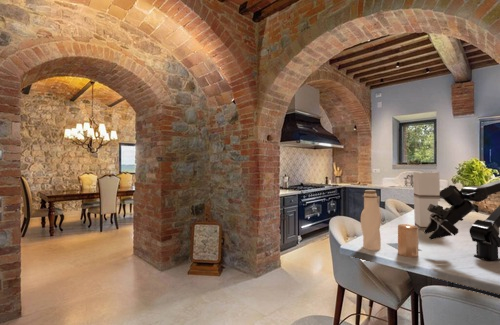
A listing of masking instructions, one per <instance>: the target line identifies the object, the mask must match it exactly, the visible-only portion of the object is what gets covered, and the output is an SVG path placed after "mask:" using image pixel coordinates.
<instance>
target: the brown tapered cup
mask: <svg viewBox="0 0 500 325" xmlns="http://www.w3.org/2000/svg"><path fill="white" fill-rule="evenodd" d="M397 243H398V249H397V253H398V255H400V256H403V257H407V258H418V257H419V251H418V249H419V229H418V227H417V226H415V224H408V223H401V224H398V225H397Z"/></svg>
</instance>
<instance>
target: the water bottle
mask: <svg viewBox="0 0 500 325" xmlns="http://www.w3.org/2000/svg"><path fill="white" fill-rule="evenodd" d="M380 196H381V195H378V194H377V190H376V189H375V190H374V189H366V190H364V193H363V195H361V197H362V198H363V209H362V211H361V214H360V226H361V231H362V238H363V239H362V241H363V243H362V244H363V246H362V248H364V249H365V250H367V251H380V250H381V249H382V242H381V240H382V239H381V231H380V230H381V229H380V228H381V224H382V212H381V208H380V198H381V197H380Z"/></svg>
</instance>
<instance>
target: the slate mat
mask: <svg viewBox="0 0 500 325" xmlns="http://www.w3.org/2000/svg"><path fill="white" fill-rule="evenodd" d="M387 245H388V246H389V247H392V248H395V249H396V250H398V242H395V243H394V242H393V243H392V242H391V243H387ZM420 251H421V252H422V251H423V250H422V249H420V248H418V252H420Z"/></svg>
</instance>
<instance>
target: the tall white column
mask: <svg viewBox="0 0 500 325" xmlns="http://www.w3.org/2000/svg"><path fill="white" fill-rule="evenodd" d="M412 173H413V174H412V175H413V176H412V177H413V178H412V180H413V208H414V209H413V210H414V226H417V227H418V230H420V231H425V229H426V228H427V226H428V225H429V223H430V217H431V216H430V215H431V214H432V212H430V211H428V210H427V209H428V207H429V205H430V204H433V205H435V206H437V205H439V202H441V196H440V191H441V190H440V188H441V185H440V183H441V182H440V172H439V171H430V172H429V171H428V172H426V171H425V172H419V171H413V172H412ZM431 218H432V217H431Z"/></svg>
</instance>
